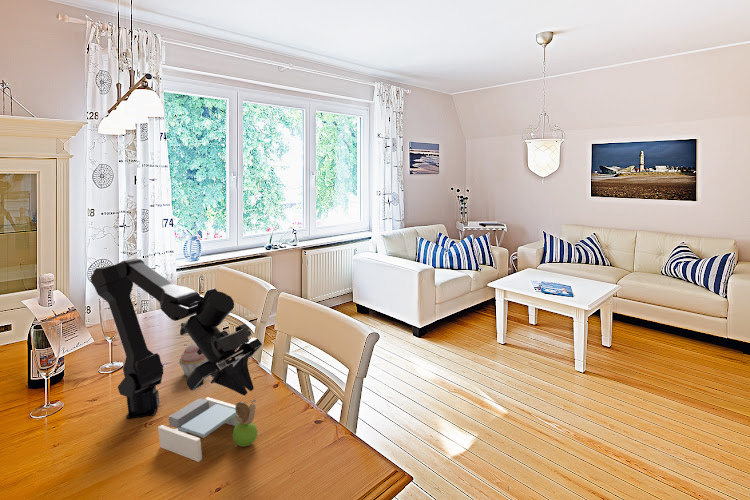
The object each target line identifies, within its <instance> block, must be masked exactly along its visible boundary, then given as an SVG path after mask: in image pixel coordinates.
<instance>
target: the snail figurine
mask: <svg viewBox="0 0 750 500" xmlns="http://www.w3.org/2000/svg"><path fill="white" fill-rule="evenodd" d="M256 402H257V400H256V399H253V400H251V401H250V403H251V404H250V405H248V404H247V403H246V402H244V401H238V402H237V403H236V404H235V405H236V407H235V410H236V413H237V415H236V418H237V420H238V421H239V422H240V423H239V424H237V425H236V426H234V428H233V431H232V439H233V442H234V444H235V445H237V446H239V447H244V448H245V447H249V446H250V445H252V444H253V443H254V442H255V441H256V439H257V436H258V428H257V426H256V424H254V422H253V421H254V419H255V416H256V404H255V403H256Z"/></svg>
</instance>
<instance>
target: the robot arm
mask: <svg viewBox="0 0 750 500" xmlns="http://www.w3.org/2000/svg"><path fill="white" fill-rule="evenodd" d="M90 281H91V284H92V286H93V288H94V289H95V291H96V294H97V295H98V296H99V297H100V298H102V300H105V302H107V303H108V306H109V309H110V311H111V315H112V317H113V321H114V324H115V327H116V329H117V332H118V335H119V339H120V342H121V345H122V347H123V350H124V354H125V360H124V364H123V368H122V370H123V371H122V372H123V375H124V378H123V379H122V380H121V381H120V383H119V384H118V386H117V390H118V393H119V394H120V395H121V396H124V397H126V404H127V405H126V406H127V412H128V413H127V414H126V416H125V418H126V419H134V418H141V417H148V416H149V417H150V416H154V415H155V414H156V411H157V409H158V408H159V407H160V395H159V390H158V389H157V388H156V386H158V385H160V384H162V378H163V376H164V364H162V363H163V362H162V360H161V357H160V354H159V353H157V352H156V353H154V352H152V351H151V350H150V349H149V348H148V347H147V344H146V339H145V337H144V335H143V334H144V333H143V331H142V329H141V325H140V322H139V318H138V317H137V313H136V311H135V307H134V304H133V301H132V297H131V294H132V290H133V287H134V284H135V286H138V287H139V288H140V289H142V290H143V291H145V292H146V293H147V294H148V295H150V296H151V297H153V298H154V299H155V300H157V302H158V303H159V305H160V306H159V307H160V310H161V311H162V312H163V313H164V314H165V315H166V316H167V317H168V318H169V319H170V320H171V321H175V322H177V321H180V320H183V319H186V318H188V320H186V321H184V322H181V324H180V326H181V327H180V330H179V335H181V336H183V335H186V334H187V335H188V336H189V337H190V339H191V340H192V342H194V343H195V344H196V345H197V346H198V348H199V350H198V351H197V353H198V354H199V355H201V354H204V356H205V357H206V358H207V360H208V361H207V362H206V363H204V364H202V365H200V366H198V367H196V368H195V369H194V371H193V372H192V373H191V374H190V375H189V376H186V377H187V378H186V385H187V387H188V388H189V389H190V391H191V392H192V391H195V390H197V389H198V388H200V387H201V386H202V385H204V379H206V378H208V377H210V376H211V379H212V380H211V381H210V384H216V385H220V386H222V387H225V388H227V389H229V390H231V391H233V392H235V393H237V394H240V395H242V396H246V395H247V394H248V391H249V392H252V391H253V390H254V389H255V388H254V384H253V381H252V380H253V379H252V377H251V374H250V370H249V365H248V362H249V359H250V358H251V357H253V356H254V355H255V353H256V352H257V351H258V350H259V349H260V348H261V347H262V346H263V343H262V342H261V340H259V339H258V338H257V337H252V338H250V337H251V336H252V331H251V329H250V328H249V326H248V325H246V323H242V324H240V325H238V326H235V329H234V330H235V331H234V332H232V333H228V331H226V329H225V330H223V331H221V330H220V329H219V328H218V326H220V325H221V324H222V322H224V321H225V319H226V318H227V317H228V316H229V314H230V313H231V312H232V311H233V309H234V308H235V301H234V299H233V298H232V296H231V295H228V294H227V293H225V292H222V291H218V290H217V289H216V287H214V288H210V289H208V290H207V291H206V292H205V293H204V295H202V294H199V293H198V292H197V291H195V290H194V289H192V288H189V287H188V286H182V285H177V284H174V283H172V282H171V281H170V280H168V279H167V278H166V277H164V276H163V275H161V274H160V273H158V272H156V271H155V270H154V269H153V268H151V267H149V266H148V265H147V264H146V263H145V262H144V261H143V260H142V259H141V258H132V259H126V260H122V261H120V262H118V263H116V264H113V265H109V266H103V267H97V268H95V269H94V271H93V273H92V274H91V277H90ZM249 338H250V339H249Z"/></svg>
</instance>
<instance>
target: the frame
mask: <svg viewBox="0 0 750 500" xmlns="http://www.w3.org/2000/svg"><path fill="white" fill-rule="evenodd" d="M204 400H208V401H209V408H211V407H212V406H214V405H215V404H219V405H222V406H226V407H229V408H232V409H235V407H236V404H233V403H229V402H226V401H222V400H219V399H217V398H216V399H215V398H212V397H208V396H207V397H206V398H204ZM239 423H240V422H239V421H238V420H237V418H236V416H234V417H233V418H231V419H230V420H228V421H227V422H226V423H225V424H227V425H230V426H233V427H236V425H237V424H239ZM157 429H158V438H159V447H160V448H162V449H164V450H167V451H170V452H172V453H175V454H177V455H180V456H182V457H185V458H188V459H190V460H192V461H195V462H197V463H198V462H201V461H202V460H203V453H202V443H201V438H200V437H199V436H198V437H197V436H196V435H195V436H194V435H193V434H188V433H187V432H186V431H183V430H181V428H180V429H177V428H173V427H170V426H166V425H163V424H161V425H159V426H158V427H157Z"/></svg>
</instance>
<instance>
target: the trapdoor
mask: <svg viewBox="0 0 750 500" xmlns="http://www.w3.org/2000/svg"><path fill="white" fill-rule="evenodd" d="M236 415H237V413H236V410H235V409H232V408H229V407H226V406H222V405H219V404H215V405H214V406H212V407H211V408H209V401H208V400H205V398H201V397H198V398H197V399H195V400H194V401H192V402H190V403H189V404H187V405H186V406H183V407H182V408H180V409H179V410H177V411H175V412H174V413H172V414H170V415H169V416H168V422H169V424H168V426H169V427H171V428H173V429H176V428H177V429H180V428H181V430H183V431H186V433H190V434H191V435H195V436H198V437H199V438H200V437H201V438H205V437H207V436H209V435H210V434H212V433H213V432H214V431H216V430H217V429H219V428H220V427H221V426H223V425H224V424H227V423H226V422H227V421H228V420H230V419H231V418H233V417H234V416H236Z"/></svg>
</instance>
